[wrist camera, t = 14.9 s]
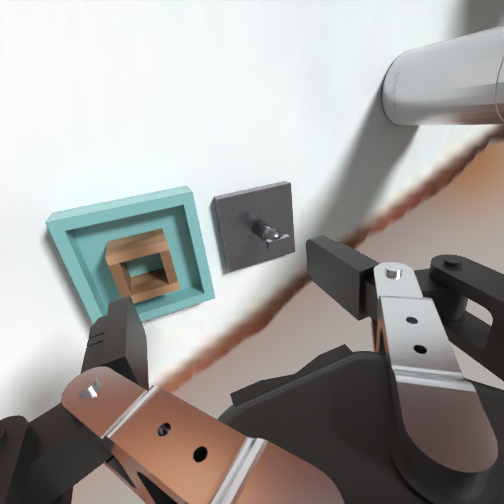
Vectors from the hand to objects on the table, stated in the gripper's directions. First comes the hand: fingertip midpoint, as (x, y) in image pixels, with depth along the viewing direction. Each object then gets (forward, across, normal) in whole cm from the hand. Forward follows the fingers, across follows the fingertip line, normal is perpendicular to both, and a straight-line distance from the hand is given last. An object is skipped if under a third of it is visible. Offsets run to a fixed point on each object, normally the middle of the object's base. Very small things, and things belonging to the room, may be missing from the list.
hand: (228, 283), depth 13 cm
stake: (+24, -10, +8) cm, 27 cm away
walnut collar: (+23, +5, +7) cm, 24 cm away
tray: (+24, +6, +7) cm, 25 cm away
